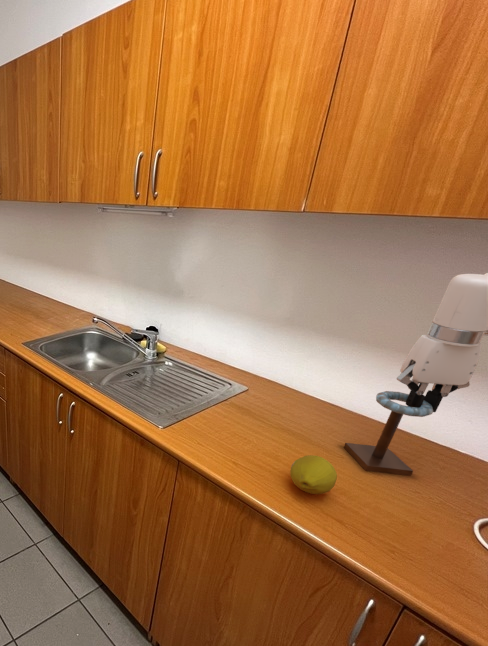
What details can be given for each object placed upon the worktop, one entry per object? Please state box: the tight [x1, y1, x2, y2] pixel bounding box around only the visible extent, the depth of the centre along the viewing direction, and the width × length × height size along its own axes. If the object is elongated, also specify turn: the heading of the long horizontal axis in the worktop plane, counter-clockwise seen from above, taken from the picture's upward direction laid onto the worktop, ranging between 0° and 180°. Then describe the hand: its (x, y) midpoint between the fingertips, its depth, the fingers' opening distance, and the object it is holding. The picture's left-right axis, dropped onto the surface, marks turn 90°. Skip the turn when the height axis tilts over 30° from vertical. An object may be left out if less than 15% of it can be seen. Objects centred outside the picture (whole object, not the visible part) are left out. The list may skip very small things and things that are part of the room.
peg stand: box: [343, 410, 414, 477], centre depth 94 cm, size 9×9×14 cm
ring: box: [375, 390, 434, 418], centre depth 90 cm, size 9×9×2 cm
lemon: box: [289, 454, 338, 495], centre depth 87 cm, size 11×8×8 cm
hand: (420, 407), depth 90 cm, fingers closed on ring, 2 cm apart
